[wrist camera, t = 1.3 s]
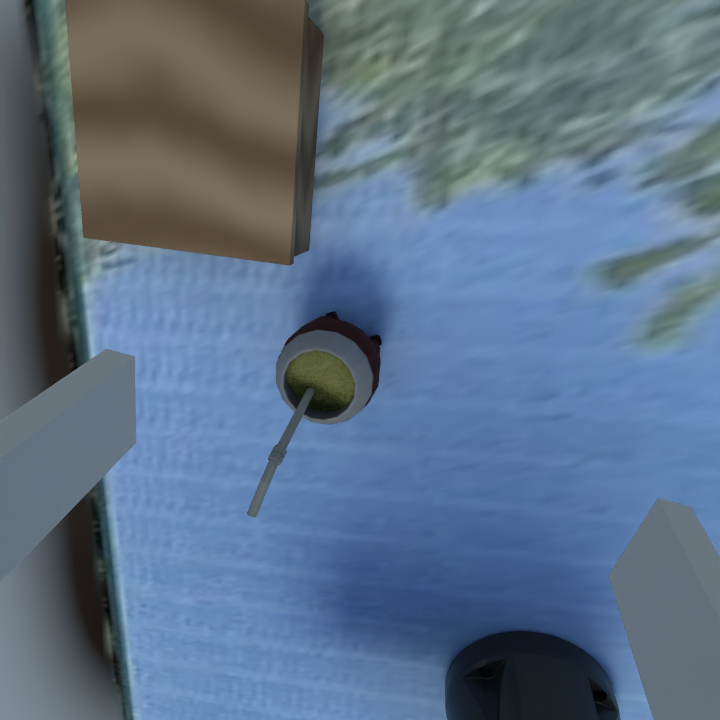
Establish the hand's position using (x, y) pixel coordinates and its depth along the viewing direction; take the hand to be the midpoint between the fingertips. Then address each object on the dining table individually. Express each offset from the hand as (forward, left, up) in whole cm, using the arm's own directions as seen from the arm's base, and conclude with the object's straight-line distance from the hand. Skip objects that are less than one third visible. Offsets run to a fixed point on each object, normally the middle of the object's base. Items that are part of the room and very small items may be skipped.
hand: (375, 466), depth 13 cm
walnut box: (+9, +16, -27) cm, 32 cm away
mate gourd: (-6, +6, -26) cm, 28 cm away
